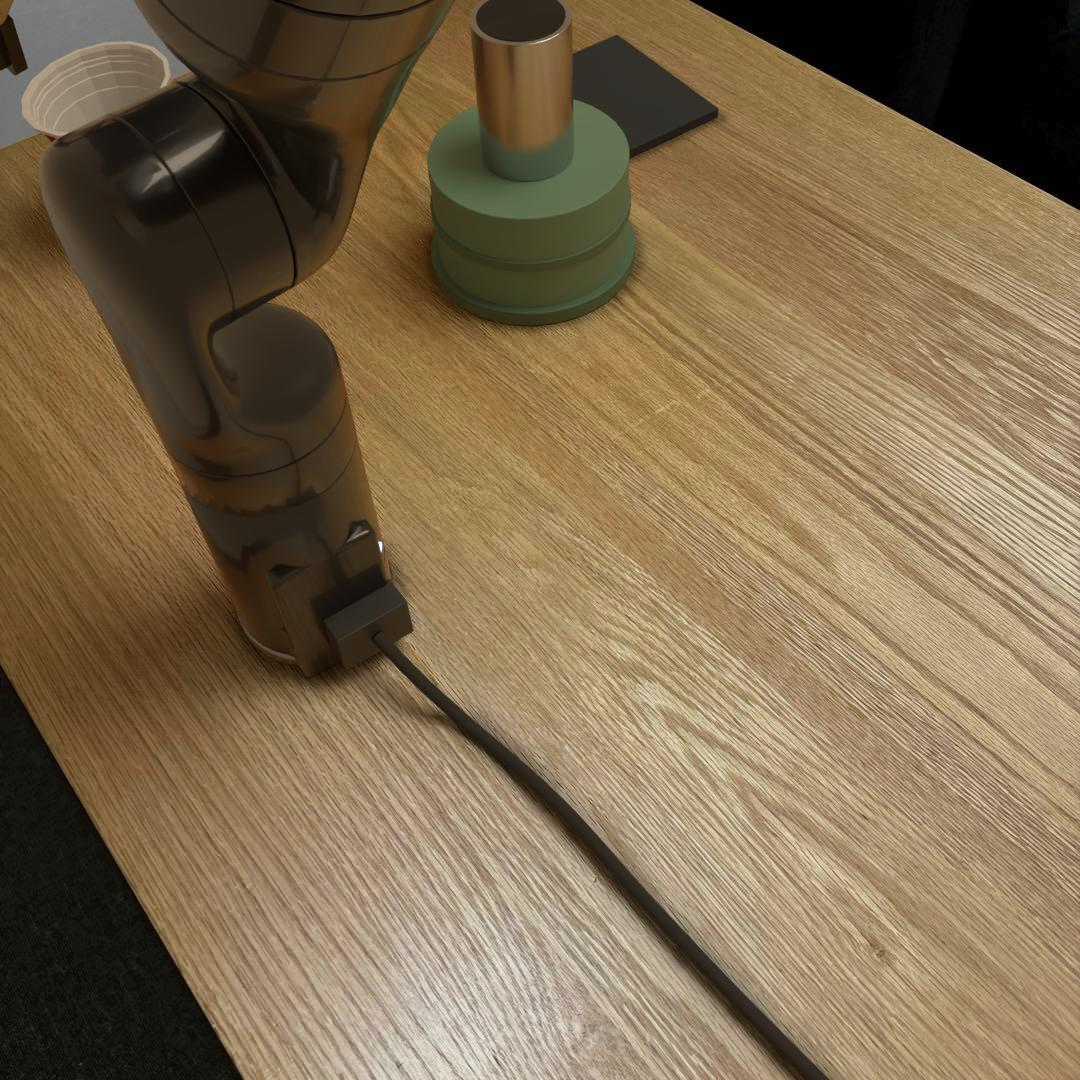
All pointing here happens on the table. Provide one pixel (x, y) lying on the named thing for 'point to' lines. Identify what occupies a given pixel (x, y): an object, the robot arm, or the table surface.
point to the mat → (637, 94)
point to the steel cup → (524, 86)
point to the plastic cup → (92, 85)
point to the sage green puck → (531, 225)
